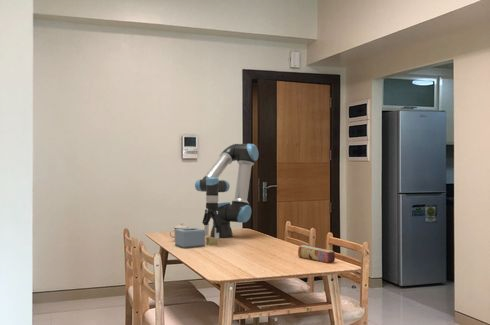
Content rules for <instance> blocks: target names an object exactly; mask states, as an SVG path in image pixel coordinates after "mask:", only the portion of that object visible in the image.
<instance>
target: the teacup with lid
mask: <svg viewBox="0 0 490 325" xmlns="http://www.w3.org/2000/svg"><path fill="white" fill-rule="evenodd" d="M184 228H189V226H187V225H185V224H184V223H183V222H179V224H177V225H176V226H174V228H173V229H172V230H170V231H169V236H170V237H171V238H173V239H175V236H172V234H171V233H172V232H175V229H184Z"/></svg>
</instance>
